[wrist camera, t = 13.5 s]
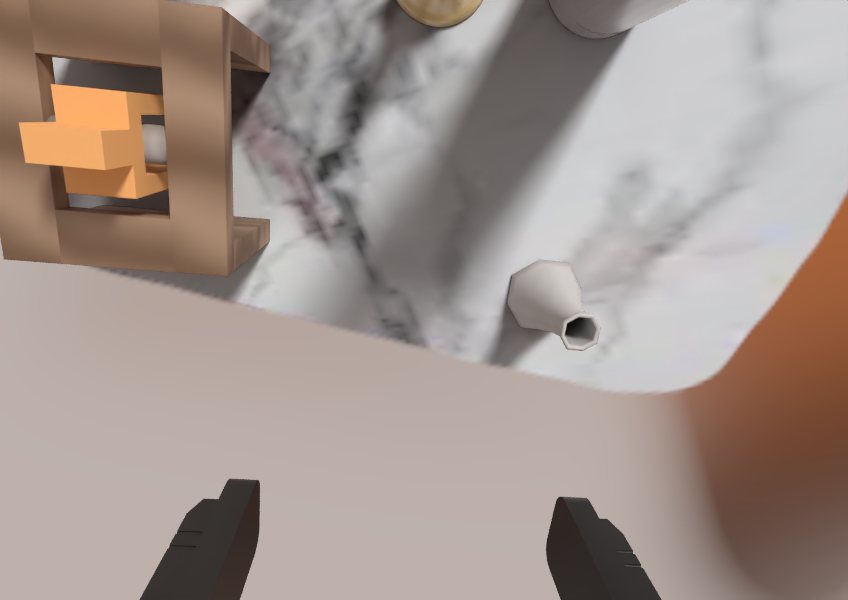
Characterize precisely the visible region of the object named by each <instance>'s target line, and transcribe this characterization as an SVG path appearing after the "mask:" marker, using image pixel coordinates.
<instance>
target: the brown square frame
mask: <svg viewBox="0 0 848 600" xmlns="http://www.w3.org/2000/svg"><path fill="white" fill-rule="evenodd" d="M52 57H58V58H67V59H76V60H84V61H93V62H102V63H111V64H120V65H129V66H138V67H147V68H156V69H162V82H163V100H164V117H165V126H162V125H152V124H142V134H143V145H144V156H145V163H150V164H161V165H167V170H168V188H169V205H170V211H166V210H154V209H143V208H131V207H120V206H109V205H103V206H98V207H94V208H78V207H70V206H69V198H68V193H67V192H66V185H65V179H64V172H63V166H56V165H45V164H34V163H26V162H25V156H24V151H23V145H22V139H21V133H20V127H19V123H21V122H56V117H55V110H54V104H53V97H52V90H51V84H55V79H54V70H53V62H52ZM231 69H239V70H248V71H256V72H265V73H270V45H268V44H267V43H266V42H265V41H263V40H262V39H261V38H260V37H258V36H257V35H256V34H254V33H253V32H252V31H251V30H249V29H248V28H247V27H246V26H244V25H243V24H242V23H241V22H239V21H238V20H237V19H236V18H234V17H233V16H232V15H230V14H229V13H228V12H227V11H225V10H224V9H223V8H222V7H214V6H206V5H198V4H190V3H182V2H174V1H166V0H0V237H1V244H2V250H3V256H4V259H8V260H21V261H33V262H46V263H60V264H72V265H85V266H98V267H111V268H125V269H138V270H151V271H164V272H177V273H190V274H203V275H216V276H229V275H230V274H231V273H232V272H233V271H235V270H236V269H237V268H238V267H240V266H241V265H242V264H243V263H244V262H246V261H247V260H248V259H249V258H250V257H252V256H253V255H254V254H255V253H256V252H258V251H259V250H260V249H261V248H263V247H264V246H265V245H266V244H267V243H269V242H270V220H269V219H257V218H246V217H234V216H233V170H232V115H231Z"/></svg>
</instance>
